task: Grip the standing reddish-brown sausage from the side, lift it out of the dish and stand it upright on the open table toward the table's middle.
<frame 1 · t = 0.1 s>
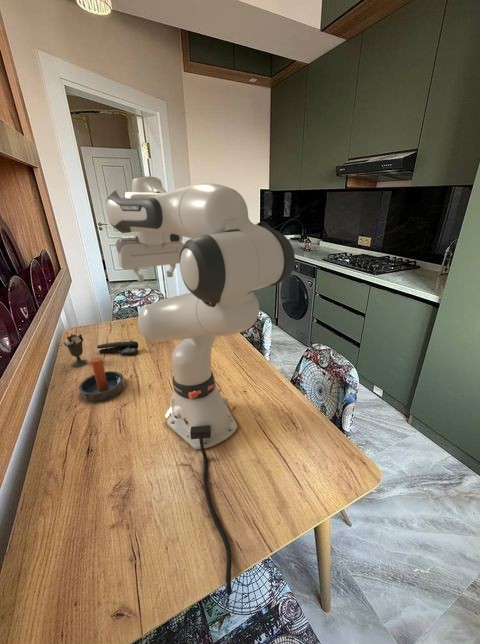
hand: (155, 278, 94), 39 cm above the table, tool pointing down, fingers open, 8 cm apart
dish: (103, 390, 102), on the table
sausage: (103, 389, 102), resting on dish
sundae: (79, 364, 118), on the table
can opener: (119, 353, 126), on the table
coffee box: (160, 337, 141), on the table
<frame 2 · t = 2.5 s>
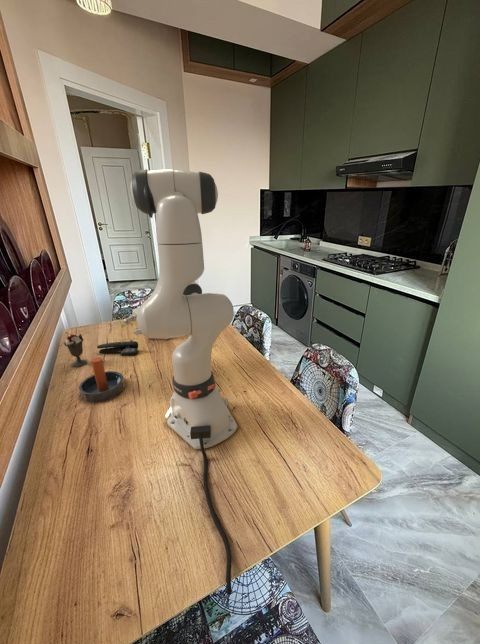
hand: (129, 327, 100), 21 cm above the table, tool horizontal, fingers open, 8 cm apart
nothing on the table moved.
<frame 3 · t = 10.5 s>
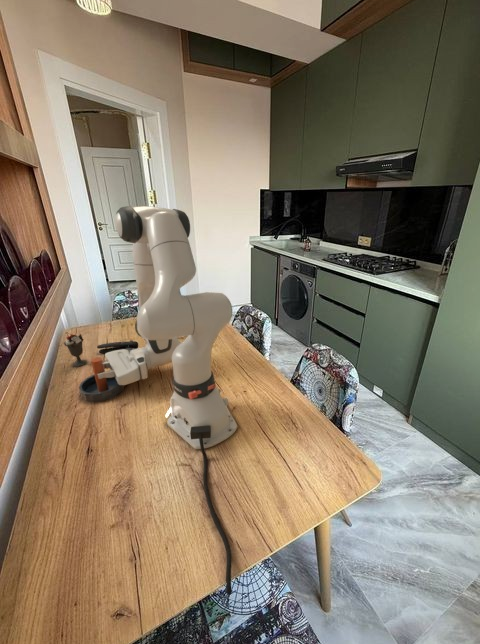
hand: (96, 373, 98), 8 cm above the table, tool horizontal, fingers closed on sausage, 3 cm apart
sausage: (103, 389, 102), point 1 cm above the table, touching gripper, dish
everything else where it was.
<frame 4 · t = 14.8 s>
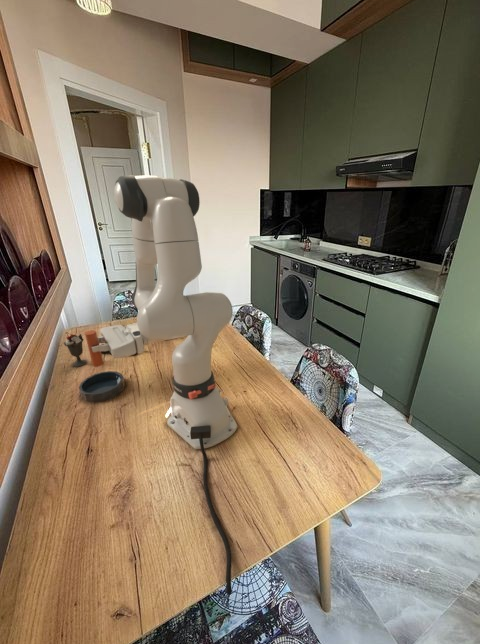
hand: (90, 346, 95), 18 cm above the table, tool horizontal, fingers closed on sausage, 3 cm apart
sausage: (98, 364, 98), point 11 cm above the table, touching gripper
everything else where it was.
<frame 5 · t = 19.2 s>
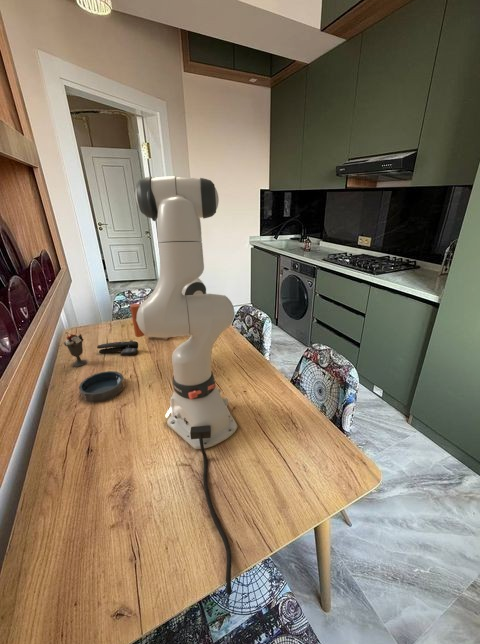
hand: (134, 318, 106), 22 cm above the table, tool horizontal, fingers closed on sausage, 3 cm apart
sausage: (139, 335, 109), point 15 cm above the table, touching gripper
everything else where it was.
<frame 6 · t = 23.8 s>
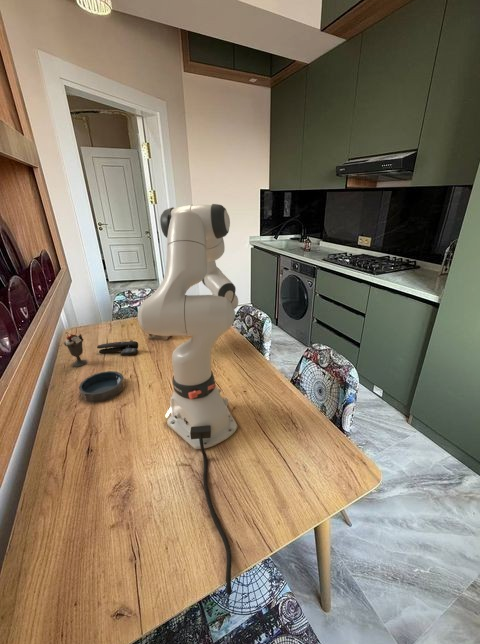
hand: (174, 315, 121), 18 cm above the table, tool horizontal, fingers closed on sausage, 3 cm apart
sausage: (178, 329, 124), point 11 cm above the table, touching gripper
everything else where it was.
when the fingers open (7 cm above the table, at t = 27.8 s): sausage stays where it is, on the table.
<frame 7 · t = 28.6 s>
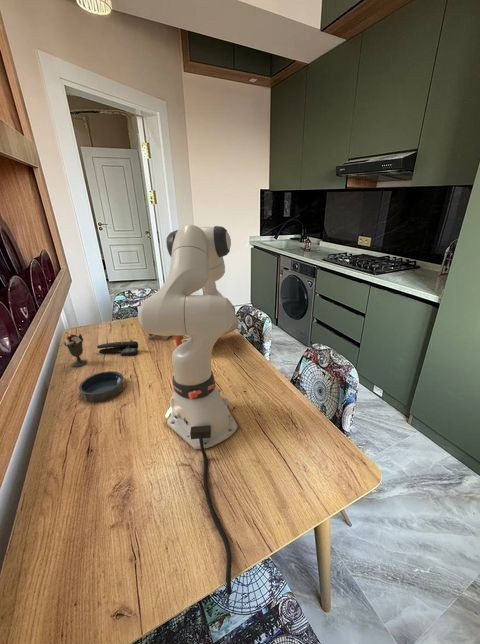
hand: (177, 337, 125), 7 cm above the table, tool horizontal, fingers open, 8 cm apart
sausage: (180, 351, 128), on the table
everything else where it was.
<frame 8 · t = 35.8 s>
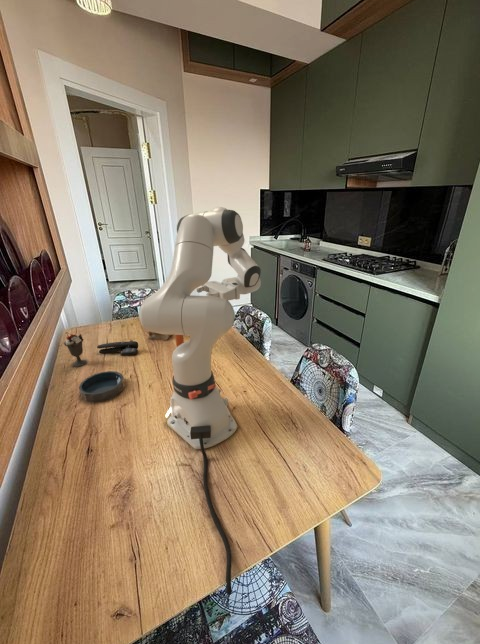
hand: (202, 293, 125), 25 cm above the table, tool horizontal, fingers open, 8 cm apart
nothing on the table moved.
at the end: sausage inside the target area (0.1 cm from its centre), on the table; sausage tilted 0°; the gripper is holding nothing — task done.
